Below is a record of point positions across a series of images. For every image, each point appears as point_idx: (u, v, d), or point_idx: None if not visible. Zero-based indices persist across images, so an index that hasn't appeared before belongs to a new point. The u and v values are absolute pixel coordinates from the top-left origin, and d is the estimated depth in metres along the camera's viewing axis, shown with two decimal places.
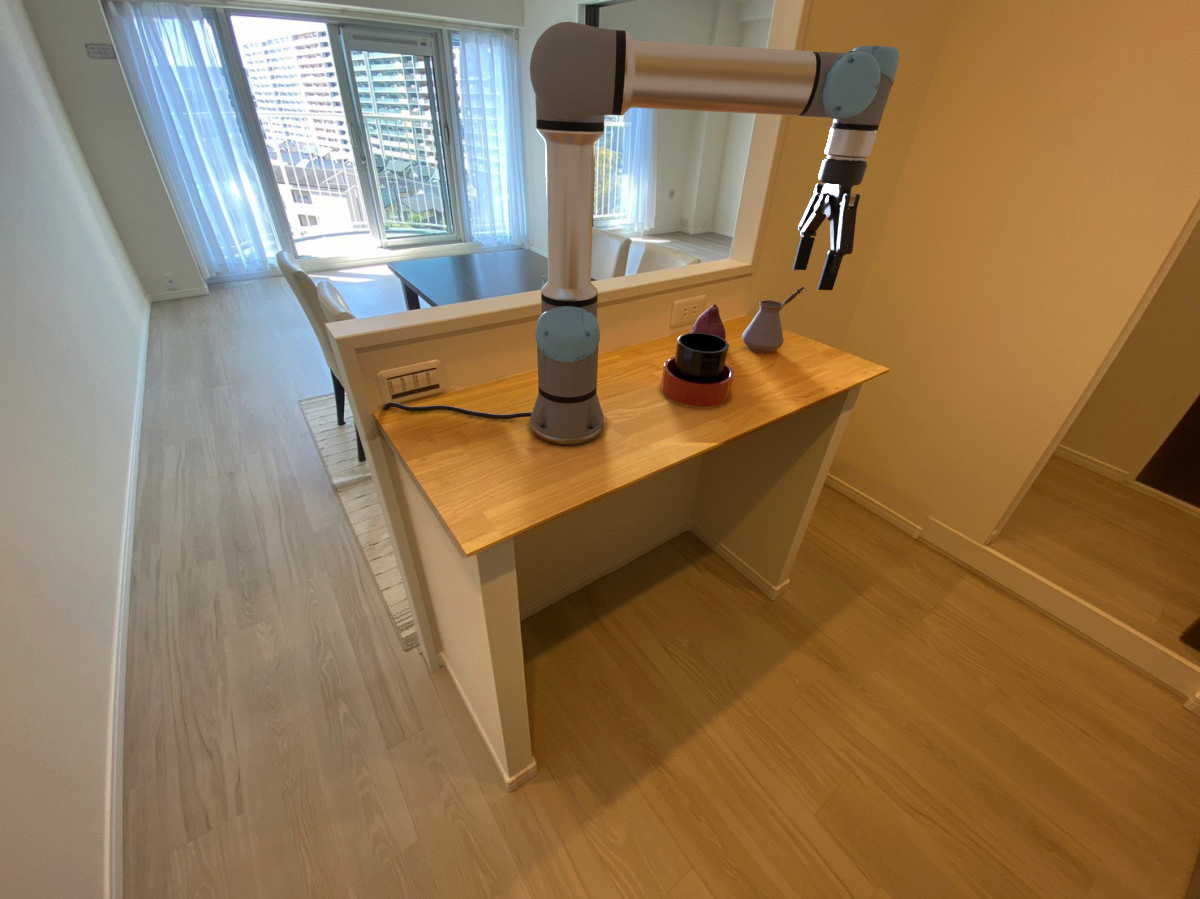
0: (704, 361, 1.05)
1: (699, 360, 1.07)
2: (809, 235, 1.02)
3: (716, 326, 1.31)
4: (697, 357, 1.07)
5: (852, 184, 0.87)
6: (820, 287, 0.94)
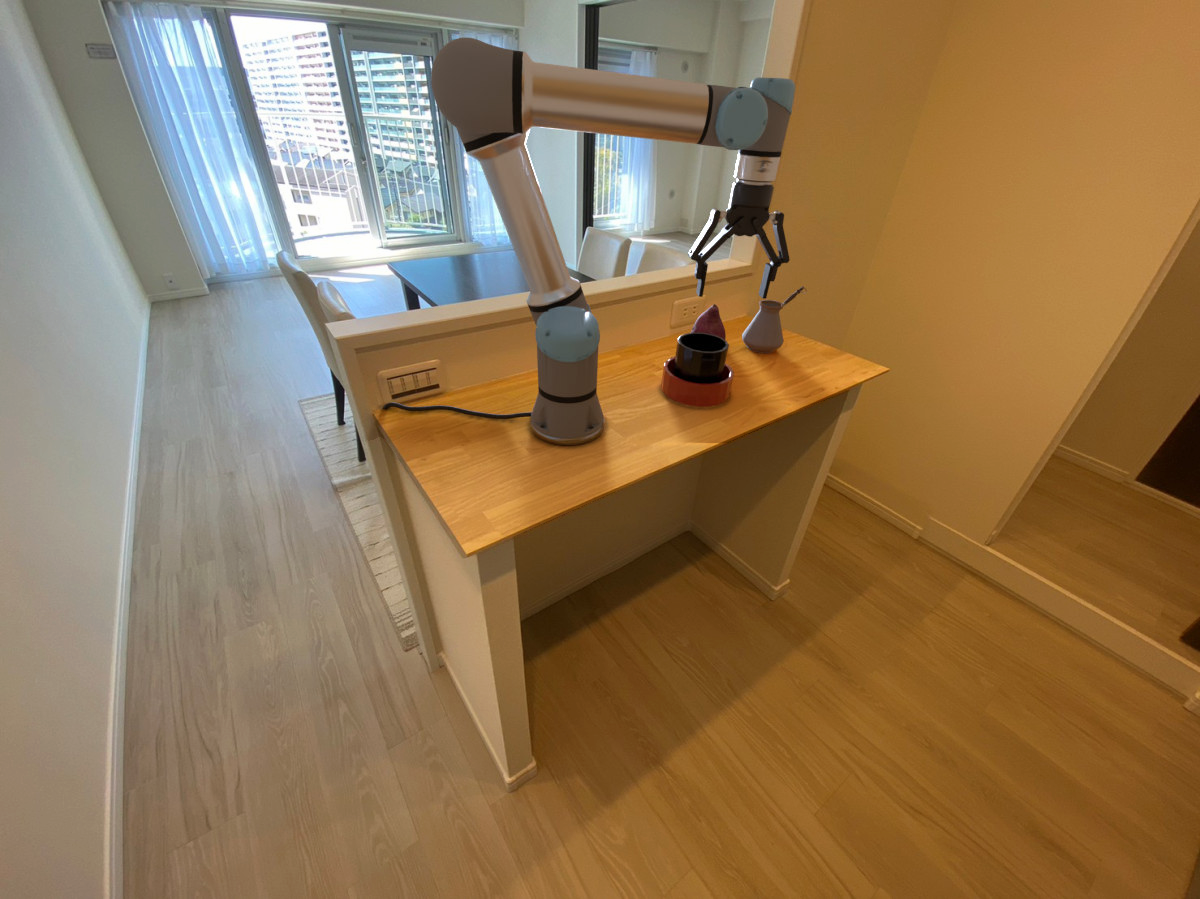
0: (704, 361, 1.05)
1: (699, 360, 1.07)
2: (772, 263, 1.00)
3: (716, 326, 1.31)
4: (697, 357, 1.07)
5: (731, 203, 0.92)
6: None
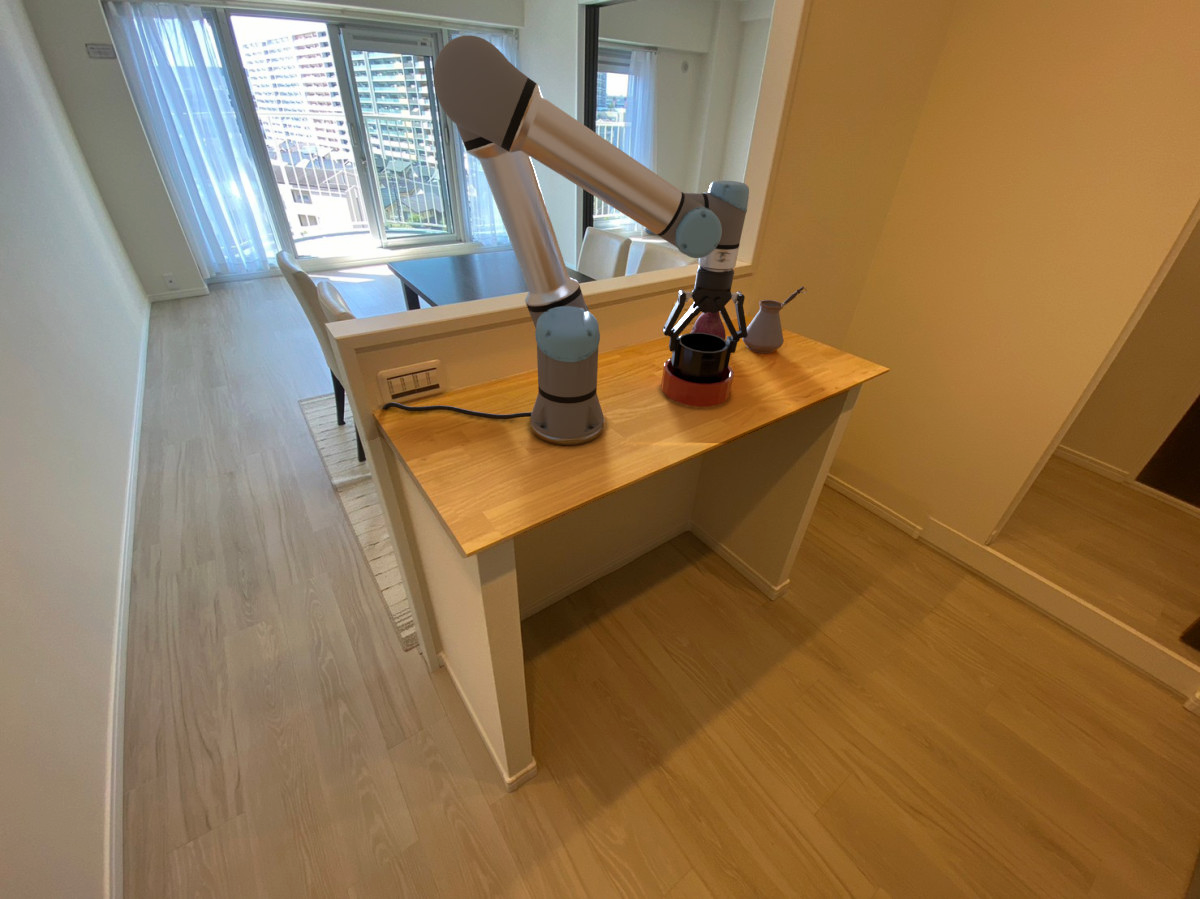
0: (704, 361, 1.05)
1: (699, 360, 1.07)
2: (732, 337, 1.09)
3: (716, 326, 1.31)
4: (697, 357, 1.07)
5: (696, 285, 1.02)
6: None
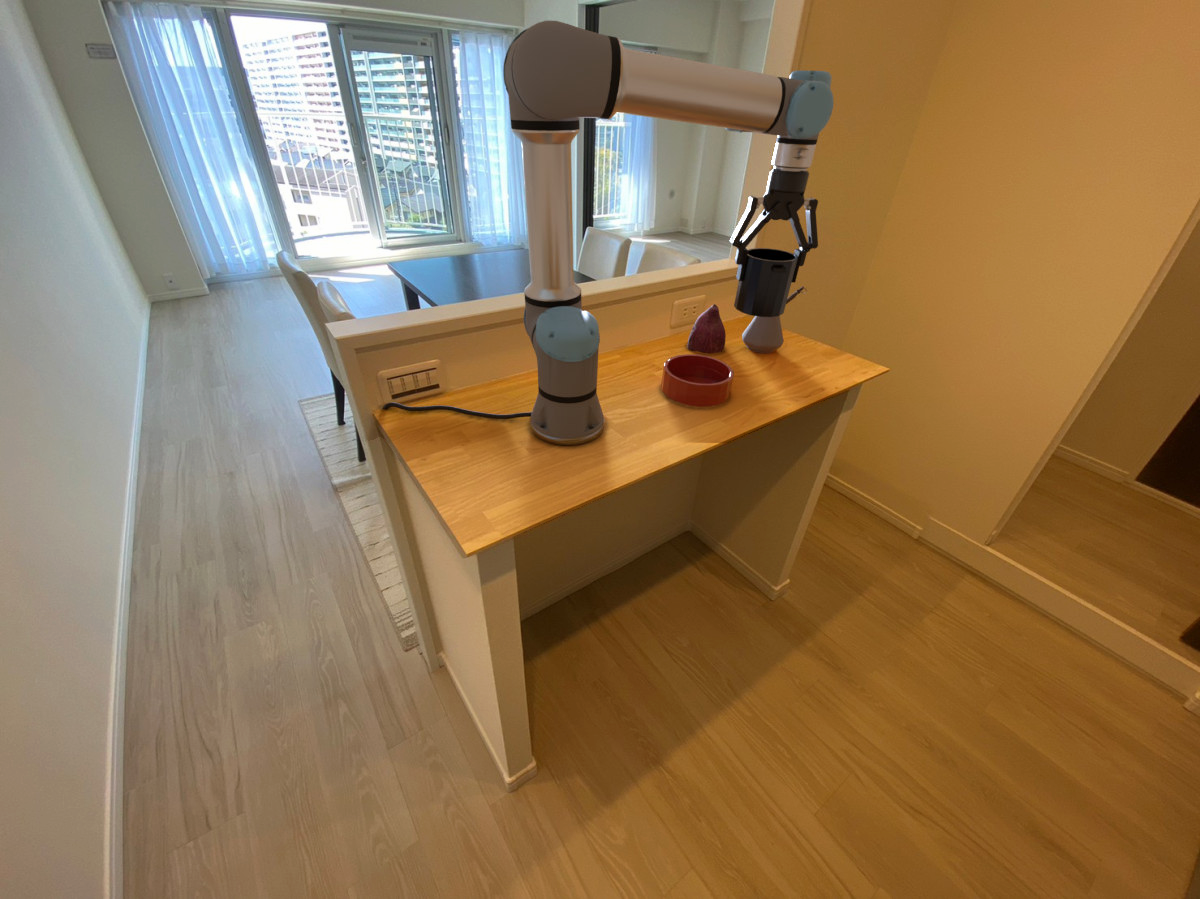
0: (775, 270, 1.02)
1: (769, 270, 1.04)
2: (801, 249, 1.06)
3: (716, 326, 1.31)
4: (767, 267, 1.04)
5: (769, 189, 0.99)
6: (736, 275, 1.11)
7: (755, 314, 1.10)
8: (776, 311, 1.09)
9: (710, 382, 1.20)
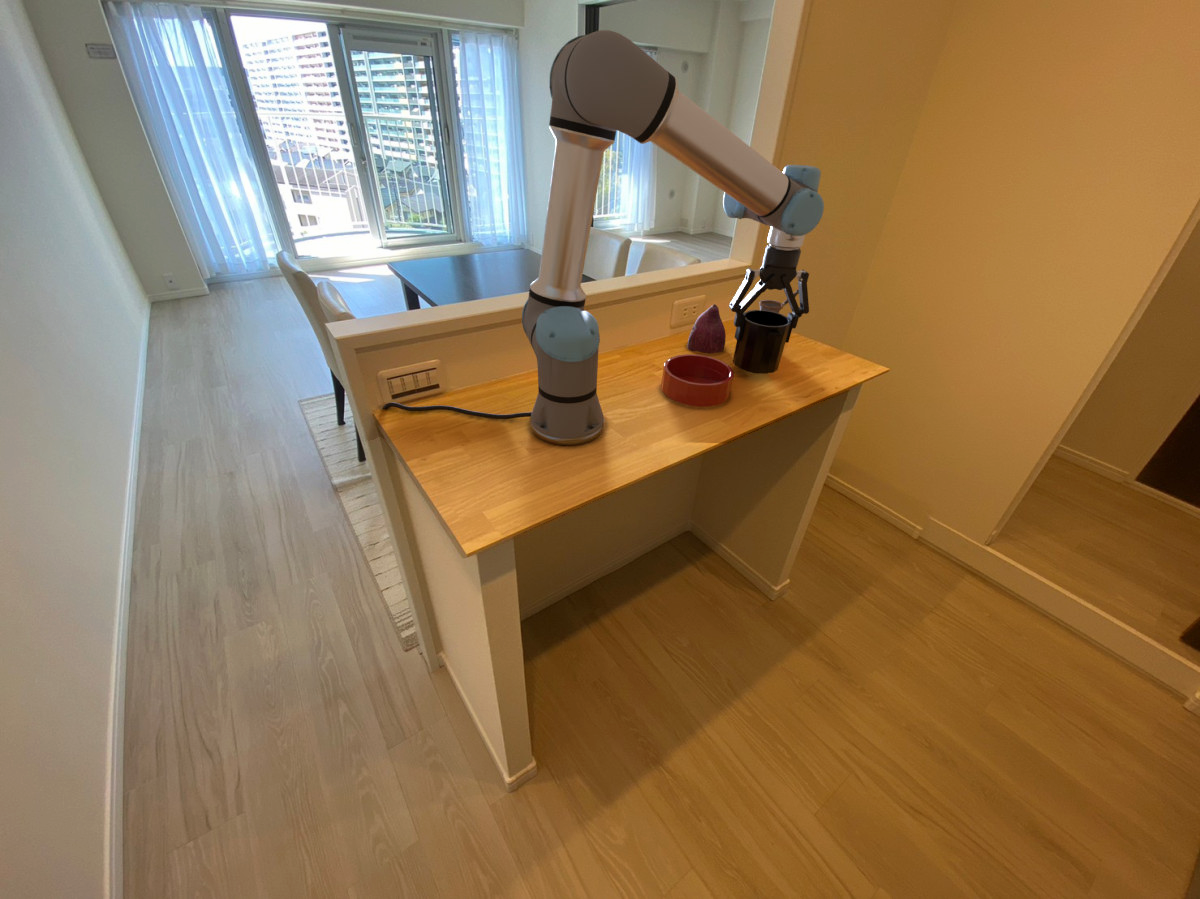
0: (770, 335, 1.12)
1: (764, 334, 1.14)
2: (794, 313, 1.17)
3: (716, 326, 1.31)
4: (763, 331, 1.14)
5: (764, 263, 1.09)
6: (735, 335, 1.21)
7: (752, 371, 1.20)
8: (771, 368, 1.20)
9: (710, 382, 1.20)
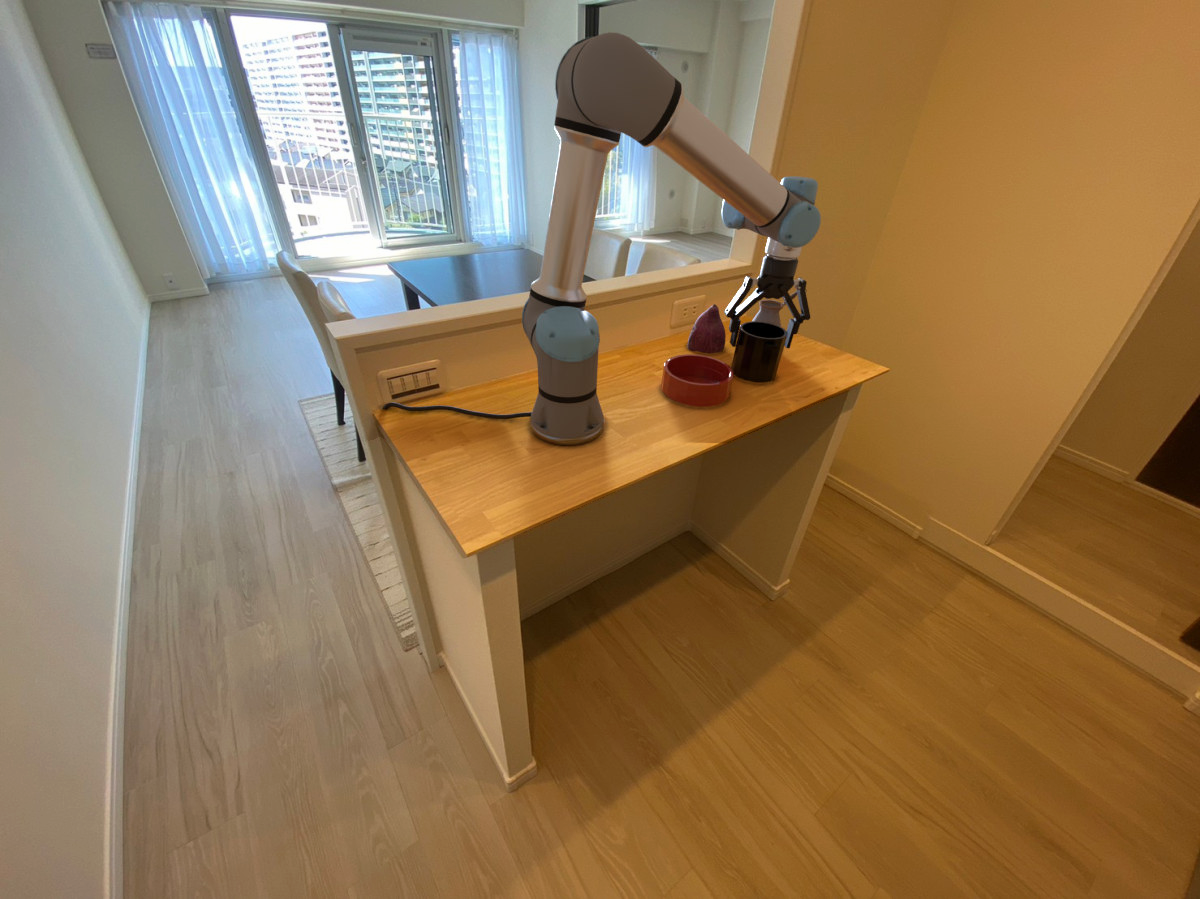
0: (767, 347, 1.14)
1: (761, 346, 1.16)
2: (795, 320, 1.18)
3: (716, 326, 1.31)
4: (760, 343, 1.16)
5: (762, 273, 1.11)
6: (730, 340, 1.22)
7: None
8: (768, 379, 1.22)
9: (710, 382, 1.20)
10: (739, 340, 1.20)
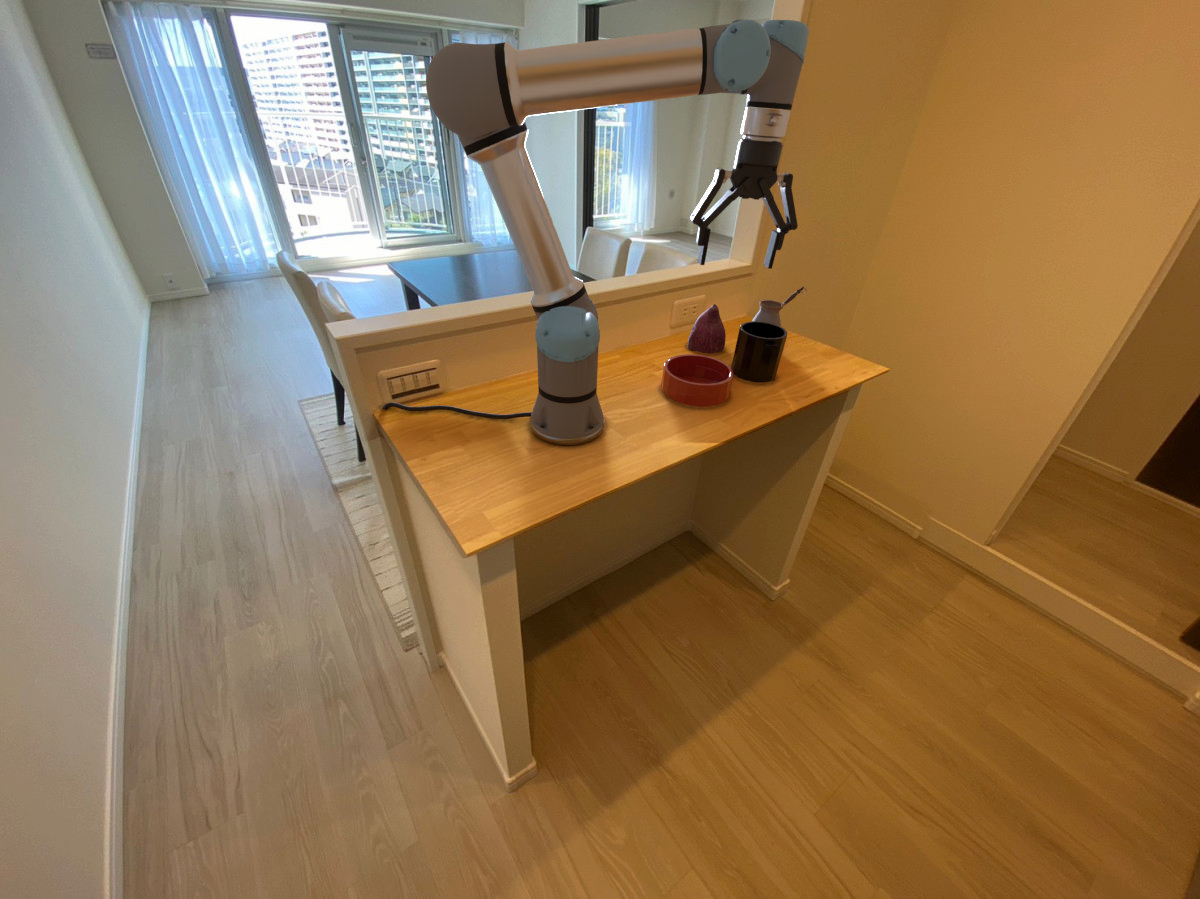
0: (767, 347, 1.14)
1: (761, 346, 1.16)
2: (779, 230, 0.94)
3: (716, 326, 1.31)
4: (760, 343, 1.16)
5: (737, 162, 0.86)
6: (698, 259, 0.97)
7: None
8: (768, 379, 1.22)
9: (710, 382, 1.20)
10: (739, 340, 1.20)
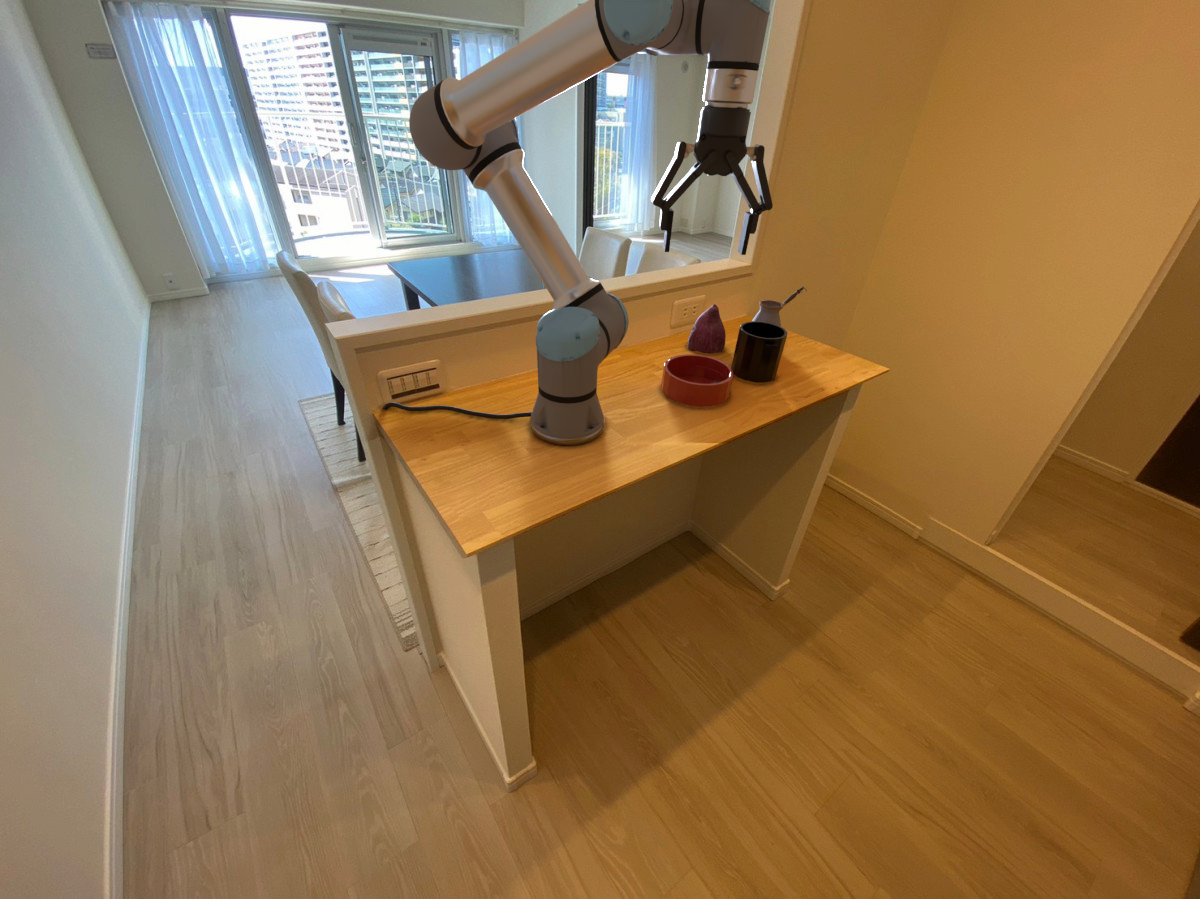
0: (767, 347, 1.14)
1: (761, 346, 1.16)
2: (752, 211, 0.83)
3: (716, 326, 1.31)
4: (760, 343, 1.16)
5: (700, 133, 0.76)
6: (663, 245, 0.87)
7: None
8: (768, 379, 1.22)
9: (710, 382, 1.20)
10: (739, 340, 1.20)
